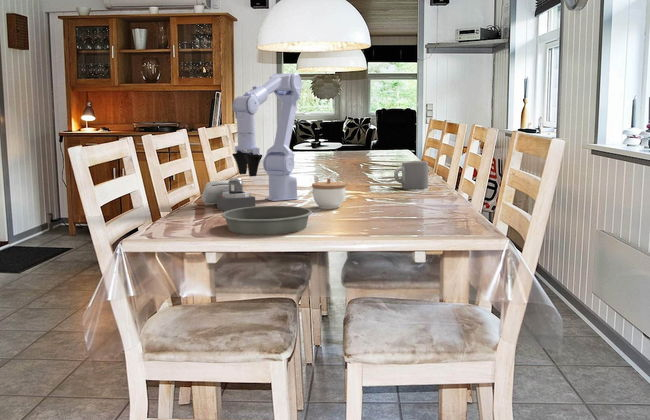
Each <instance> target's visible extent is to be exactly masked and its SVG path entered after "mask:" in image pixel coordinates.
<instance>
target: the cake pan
mask: <svg viewBox="0 0 650 420" xmlns="http://www.w3.org/2000/svg"><path fill="white" fill-rule="evenodd" d="M312 214H313V211H312V210H311V209H310V208H307V207H301V206H295V205H257V206H256V205H255V207H245V208H238V209H233V210H229V211H226V212H225V211H223V212H222V213H221V218H224V219H225V222H226V225H227V228H228V230H229V232H232V231H233V233H236V234H242V233H243V234H244V235H256V234H266V235H278V234H277V233H283V234H289V233H288V232H290V233H295V231H296V232H300V231H303V230H305V229H306V228H307V227H306V226H308V221H309V216H310V215H312ZM304 228H305V229H304ZM302 229H303V230H302ZM299 230H300V231H299ZM243 234H242V235H243Z"/></svg>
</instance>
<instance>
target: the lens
mask: <svg viewBox="0 0 650 420" xmlns="http://www.w3.org/2000/svg"><path fill="white" fill-rule="evenodd" d="M228 180H229V194H241V193H243V191H244V190H243V186H244V185H243V180H242V177H230V178H228Z"/></svg>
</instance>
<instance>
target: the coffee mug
mask: <svg viewBox="0 0 650 420" xmlns="http://www.w3.org/2000/svg"><path fill="white" fill-rule="evenodd" d="M399 172H401V178H399ZM393 177H394V180H395V182H397V183H399V184H401V188H402V189H403V190H404V189H405V190H425V188H426V189H428V188H429V161H425V160H405V161H402V162H401V166H399V167H396V168H395V170H394V173H393Z"/></svg>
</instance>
